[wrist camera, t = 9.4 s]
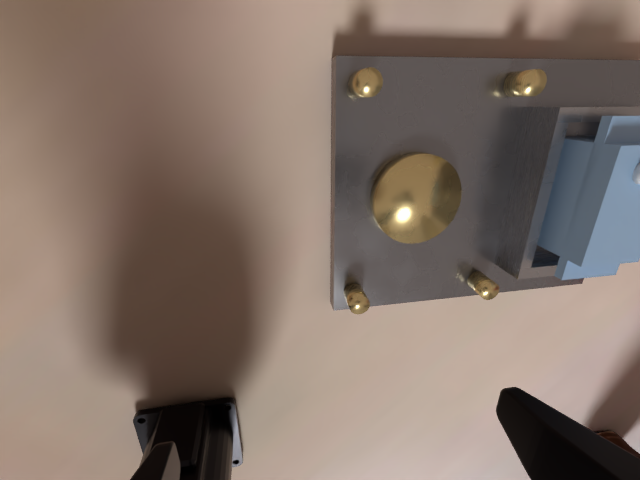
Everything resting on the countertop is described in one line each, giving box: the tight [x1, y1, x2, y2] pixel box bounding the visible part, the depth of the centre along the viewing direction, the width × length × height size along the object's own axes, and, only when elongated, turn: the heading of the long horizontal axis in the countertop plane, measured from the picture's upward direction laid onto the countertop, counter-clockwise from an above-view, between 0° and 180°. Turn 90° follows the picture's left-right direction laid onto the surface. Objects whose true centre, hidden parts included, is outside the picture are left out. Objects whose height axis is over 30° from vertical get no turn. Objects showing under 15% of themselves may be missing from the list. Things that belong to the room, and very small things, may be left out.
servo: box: [537, 115, 640, 280], centre depth 18 cm, size 8×4×5 cm, turn 0°
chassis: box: [330, 56, 640, 314], centre depth 19 cm, size 14×18×3 cm
